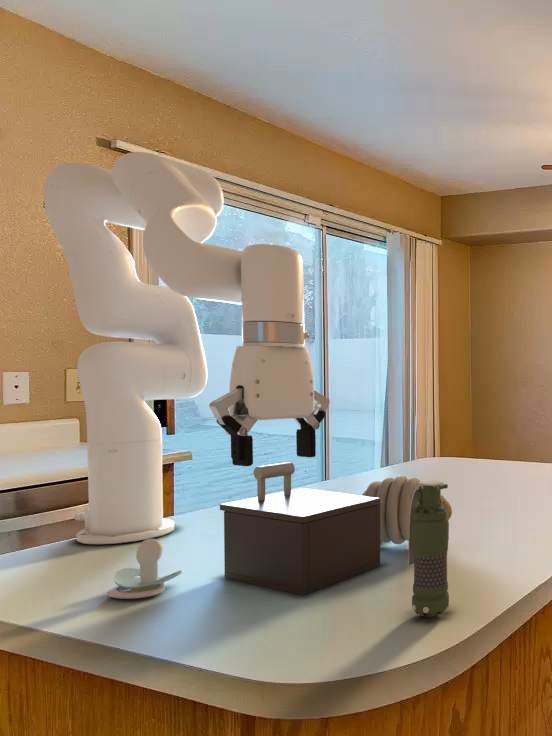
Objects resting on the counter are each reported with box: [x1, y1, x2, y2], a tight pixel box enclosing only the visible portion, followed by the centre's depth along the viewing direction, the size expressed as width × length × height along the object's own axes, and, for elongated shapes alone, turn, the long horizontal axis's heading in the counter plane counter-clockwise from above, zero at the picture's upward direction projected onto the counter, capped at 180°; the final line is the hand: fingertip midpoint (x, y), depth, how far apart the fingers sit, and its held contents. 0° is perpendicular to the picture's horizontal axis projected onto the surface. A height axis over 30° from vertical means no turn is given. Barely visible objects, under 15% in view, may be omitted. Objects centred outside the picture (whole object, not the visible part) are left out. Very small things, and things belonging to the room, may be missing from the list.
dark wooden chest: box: [223, 504, 381, 596], centre depth 80 cm, size 15×13×9 cm
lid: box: [219, 461, 380, 523], centre depth 80 cm, size 15×13×5 cm
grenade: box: [408, 480, 450, 618], centre depth 66 cm, size 4×4×15 cm
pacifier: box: [106, 538, 182, 600], centre depth 72 cm, size 7×6×6 cm
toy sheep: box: [360, 475, 453, 545], centre depth 93 cm, size 11×17×11 cm, turn 98°
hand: (276, 460), depth 82 cm, fingers open, 9 cm apart
